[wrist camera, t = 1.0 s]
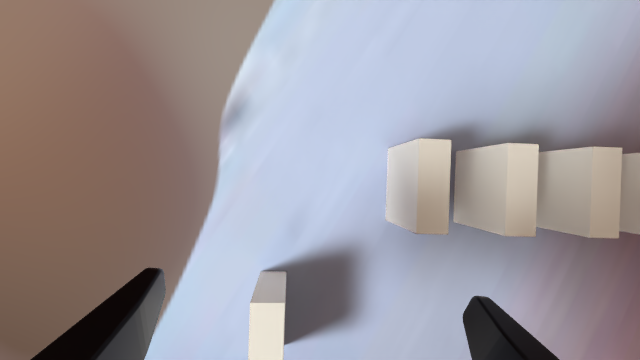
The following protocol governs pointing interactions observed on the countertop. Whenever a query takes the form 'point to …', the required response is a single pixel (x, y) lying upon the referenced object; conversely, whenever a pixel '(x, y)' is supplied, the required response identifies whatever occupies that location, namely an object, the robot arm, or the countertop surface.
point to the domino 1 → (268, 317)
